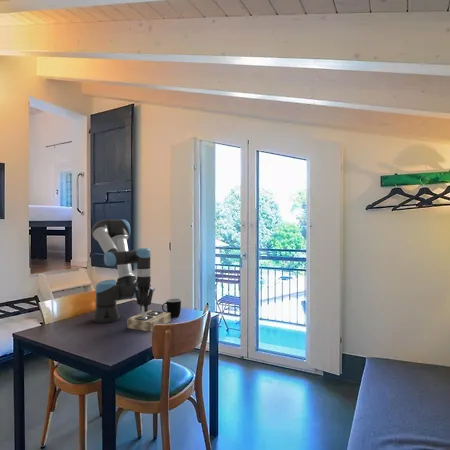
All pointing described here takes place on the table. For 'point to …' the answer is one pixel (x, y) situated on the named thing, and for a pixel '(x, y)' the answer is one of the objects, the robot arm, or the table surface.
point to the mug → (173, 307)
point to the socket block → (148, 320)
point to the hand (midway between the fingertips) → (144, 317)
